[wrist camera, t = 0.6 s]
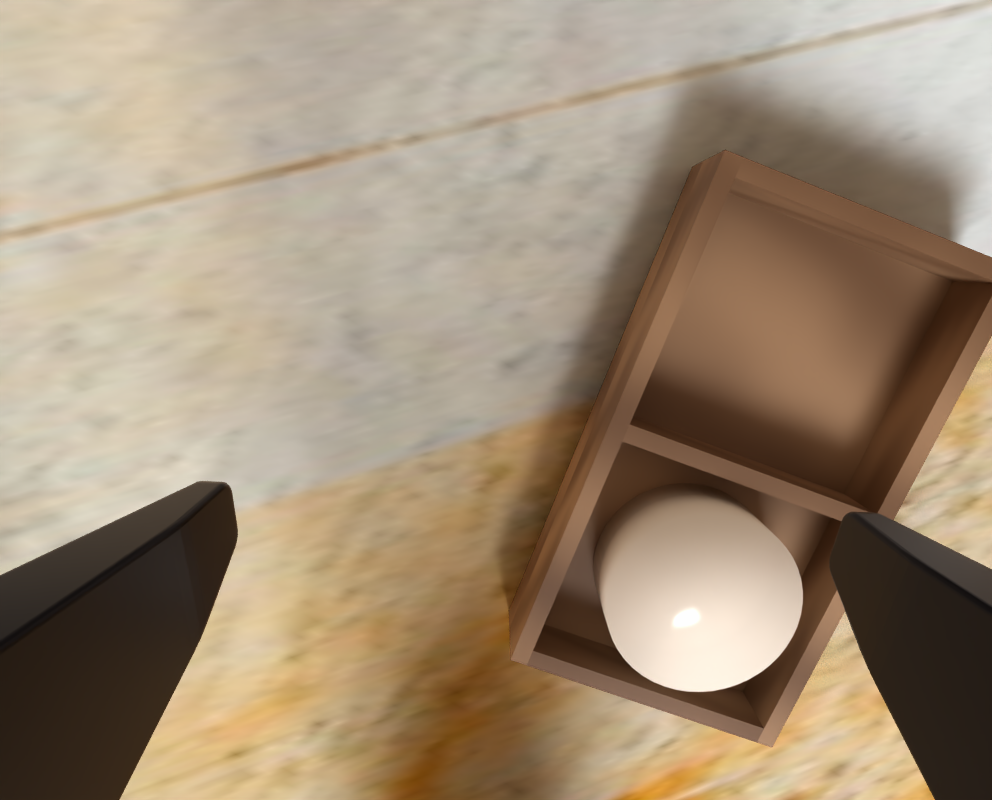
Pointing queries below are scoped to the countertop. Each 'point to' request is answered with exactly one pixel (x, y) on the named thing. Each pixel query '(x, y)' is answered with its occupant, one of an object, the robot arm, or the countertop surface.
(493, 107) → the countertop surface
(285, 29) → the countertop surface
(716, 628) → the cream rounded shiny part
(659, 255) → the caddy
